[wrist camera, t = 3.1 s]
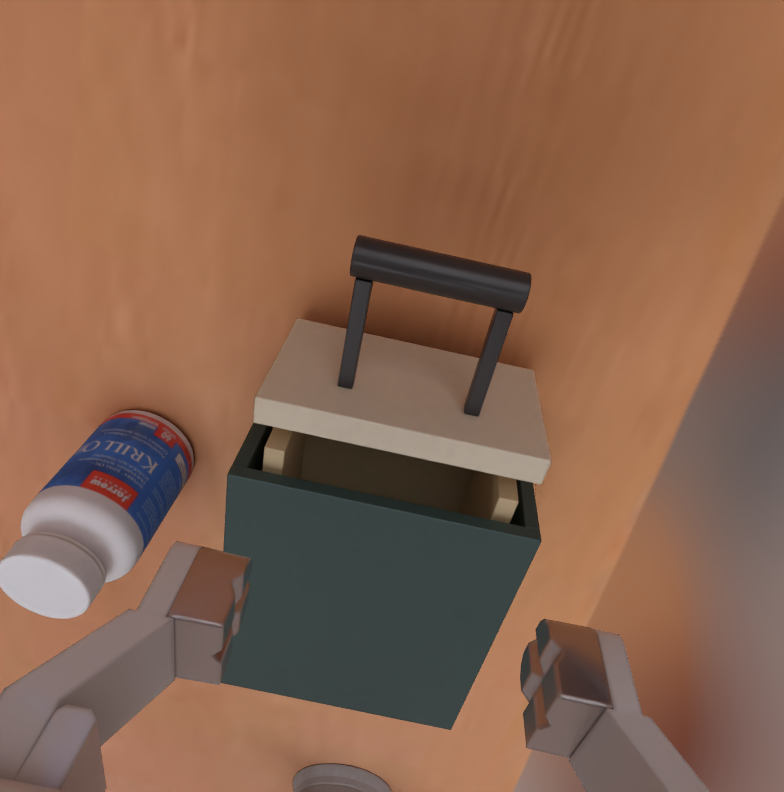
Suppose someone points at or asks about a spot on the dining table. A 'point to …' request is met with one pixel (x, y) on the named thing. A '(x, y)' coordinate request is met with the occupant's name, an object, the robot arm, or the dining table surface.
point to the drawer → (408, 396)
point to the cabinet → (367, 592)
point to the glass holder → (337, 779)
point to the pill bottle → (96, 514)
